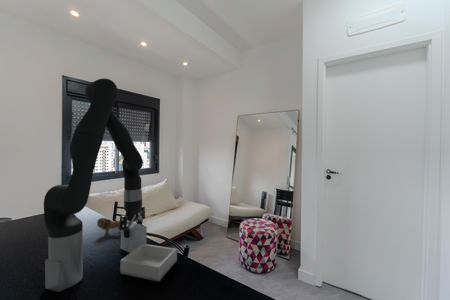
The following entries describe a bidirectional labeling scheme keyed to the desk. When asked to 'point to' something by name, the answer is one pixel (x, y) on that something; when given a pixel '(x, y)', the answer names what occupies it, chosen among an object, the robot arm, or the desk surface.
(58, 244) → the robot arm
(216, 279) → the desk surface
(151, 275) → the tray
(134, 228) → the skincare box
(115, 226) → the lion figurine
